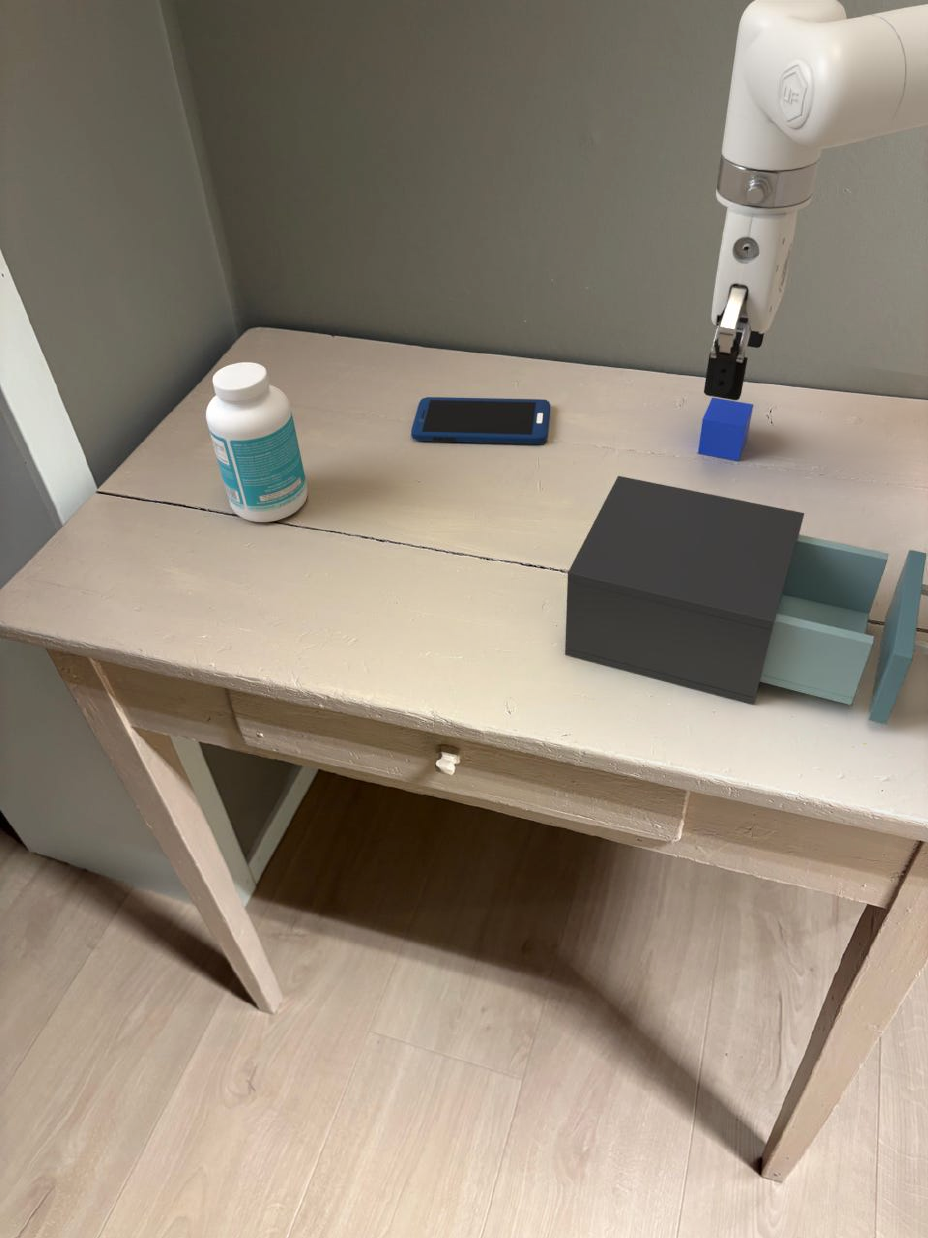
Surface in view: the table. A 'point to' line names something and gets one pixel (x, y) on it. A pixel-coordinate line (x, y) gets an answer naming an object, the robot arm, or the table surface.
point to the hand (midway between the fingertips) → (733, 369)
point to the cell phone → (482, 420)
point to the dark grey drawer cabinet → (680, 586)
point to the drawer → (843, 624)
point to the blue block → (725, 429)
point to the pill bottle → (256, 444)
